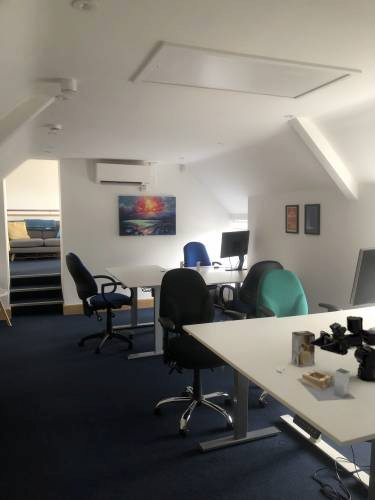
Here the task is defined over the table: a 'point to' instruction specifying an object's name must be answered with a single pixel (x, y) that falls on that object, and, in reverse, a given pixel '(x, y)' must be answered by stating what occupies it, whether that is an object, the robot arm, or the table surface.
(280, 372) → the pliers
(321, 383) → the wooden square frame
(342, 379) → the steel pin
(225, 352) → the table surface
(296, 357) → the coffee box
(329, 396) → the rubber mat
